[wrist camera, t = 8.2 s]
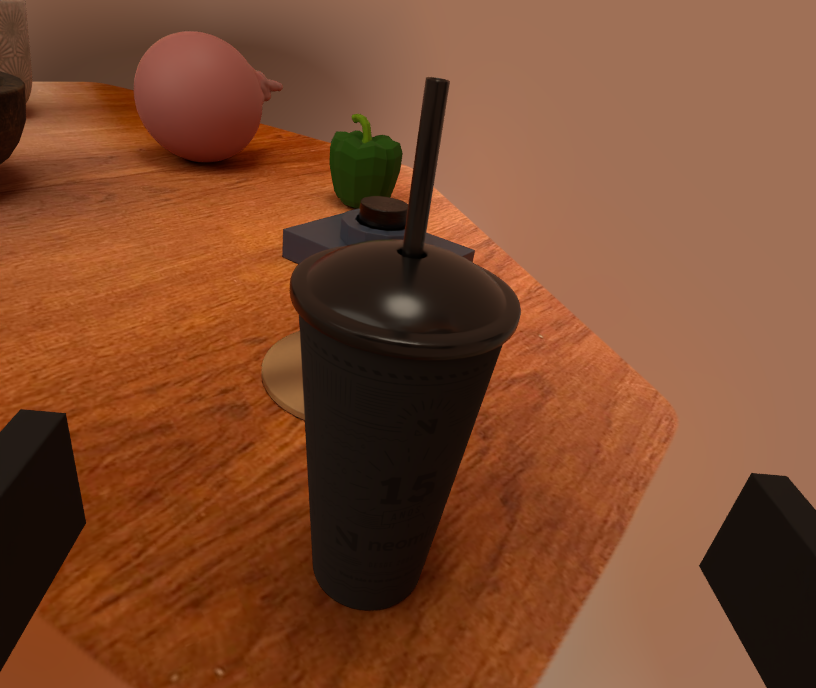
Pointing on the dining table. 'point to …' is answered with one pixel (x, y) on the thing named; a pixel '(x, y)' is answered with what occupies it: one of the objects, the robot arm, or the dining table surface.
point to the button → (383, 213)
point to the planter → (15, 42)
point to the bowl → (11, 113)
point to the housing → (347, 237)
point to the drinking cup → (392, 387)
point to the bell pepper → (363, 164)
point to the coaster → (285, 374)
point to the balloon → (200, 96)
